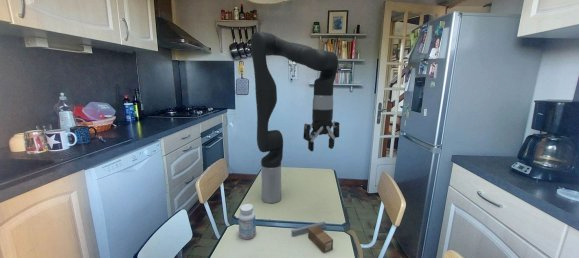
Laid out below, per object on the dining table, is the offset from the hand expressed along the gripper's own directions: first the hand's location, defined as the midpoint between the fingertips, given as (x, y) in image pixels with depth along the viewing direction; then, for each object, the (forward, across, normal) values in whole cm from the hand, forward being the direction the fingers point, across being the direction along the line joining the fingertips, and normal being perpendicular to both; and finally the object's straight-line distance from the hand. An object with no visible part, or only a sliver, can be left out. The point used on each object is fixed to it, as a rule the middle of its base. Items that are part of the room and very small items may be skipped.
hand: (321, 149), depth 93 cm
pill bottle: (+30, +29, -2) cm, 42 cm away
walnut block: (+28, +7, +8) cm, 30 cm away
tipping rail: (+30, +7, +5) cm, 31 cm away
